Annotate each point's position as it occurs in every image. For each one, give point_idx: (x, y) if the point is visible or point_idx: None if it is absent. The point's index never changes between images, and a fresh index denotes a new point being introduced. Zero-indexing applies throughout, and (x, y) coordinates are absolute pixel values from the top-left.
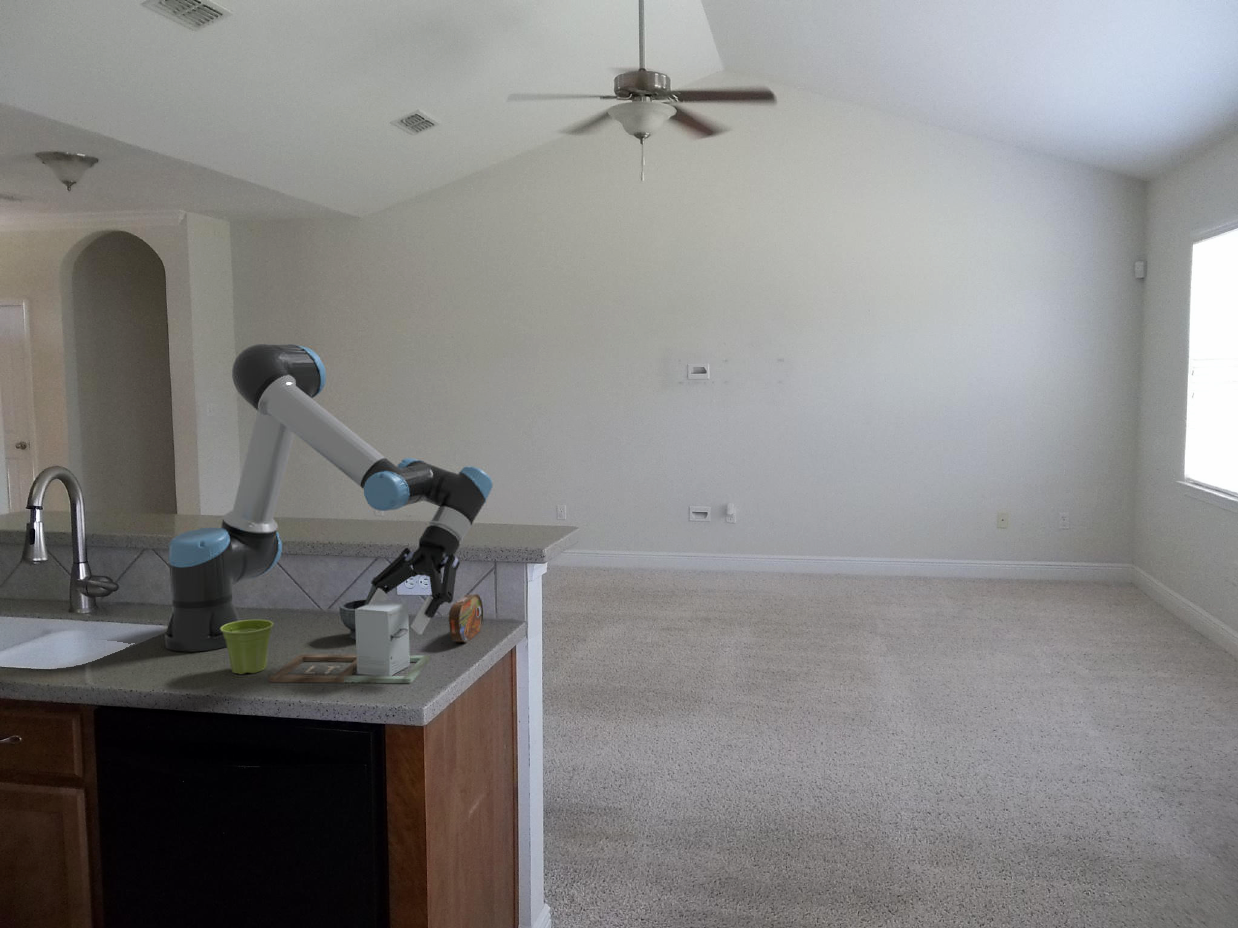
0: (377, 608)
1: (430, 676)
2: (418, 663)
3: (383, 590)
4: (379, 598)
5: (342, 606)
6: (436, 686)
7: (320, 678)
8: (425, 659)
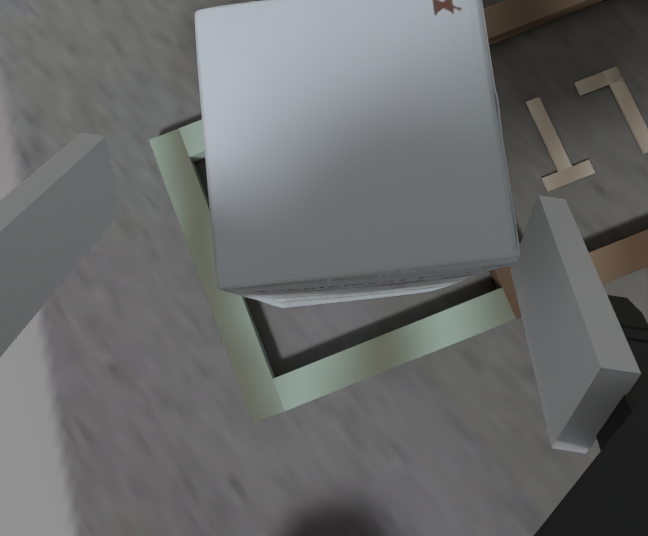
0: (318, 38)
1: (130, 237)
2: (235, 308)
3: (611, 434)
4: (561, 342)
5: None
6: (45, 154)
7: None
8: (240, 366)
